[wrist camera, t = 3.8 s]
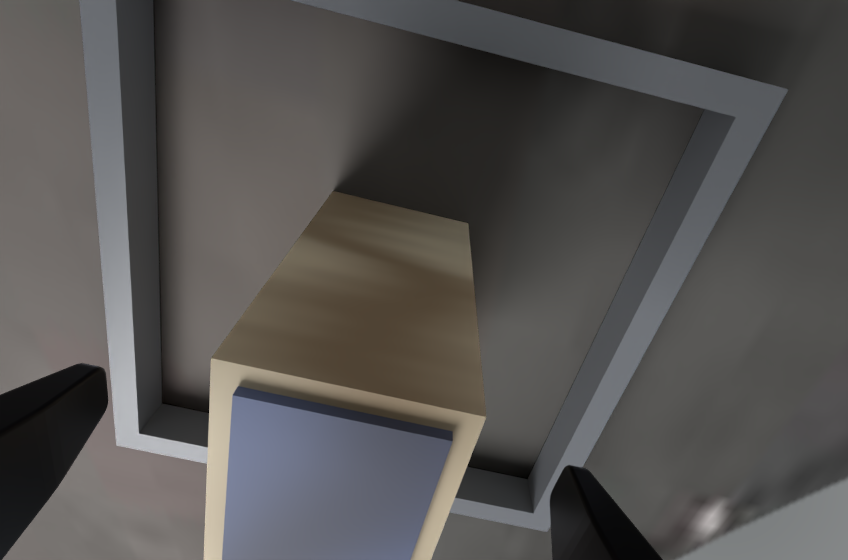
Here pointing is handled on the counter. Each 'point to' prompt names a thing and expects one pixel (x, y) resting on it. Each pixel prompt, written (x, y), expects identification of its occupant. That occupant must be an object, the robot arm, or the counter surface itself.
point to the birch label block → (348, 393)
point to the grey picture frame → (465, 25)
